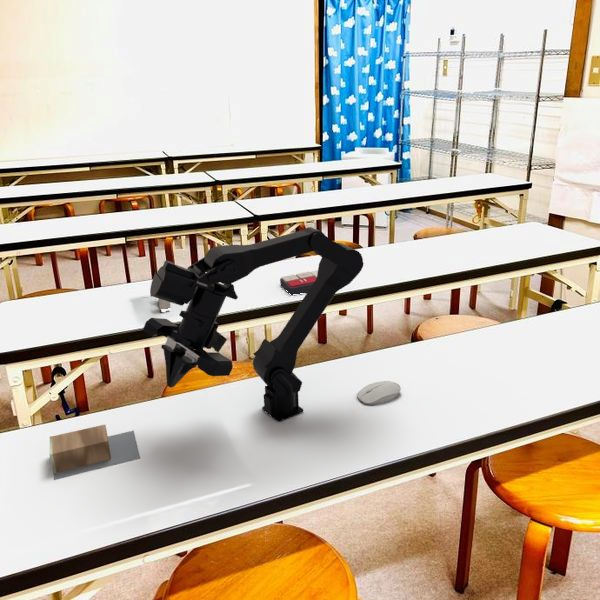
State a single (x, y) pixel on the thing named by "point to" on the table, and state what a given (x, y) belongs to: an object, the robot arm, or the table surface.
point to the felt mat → (120, 450)
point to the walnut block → (79, 448)
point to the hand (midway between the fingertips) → (170, 386)
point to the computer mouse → (379, 392)
